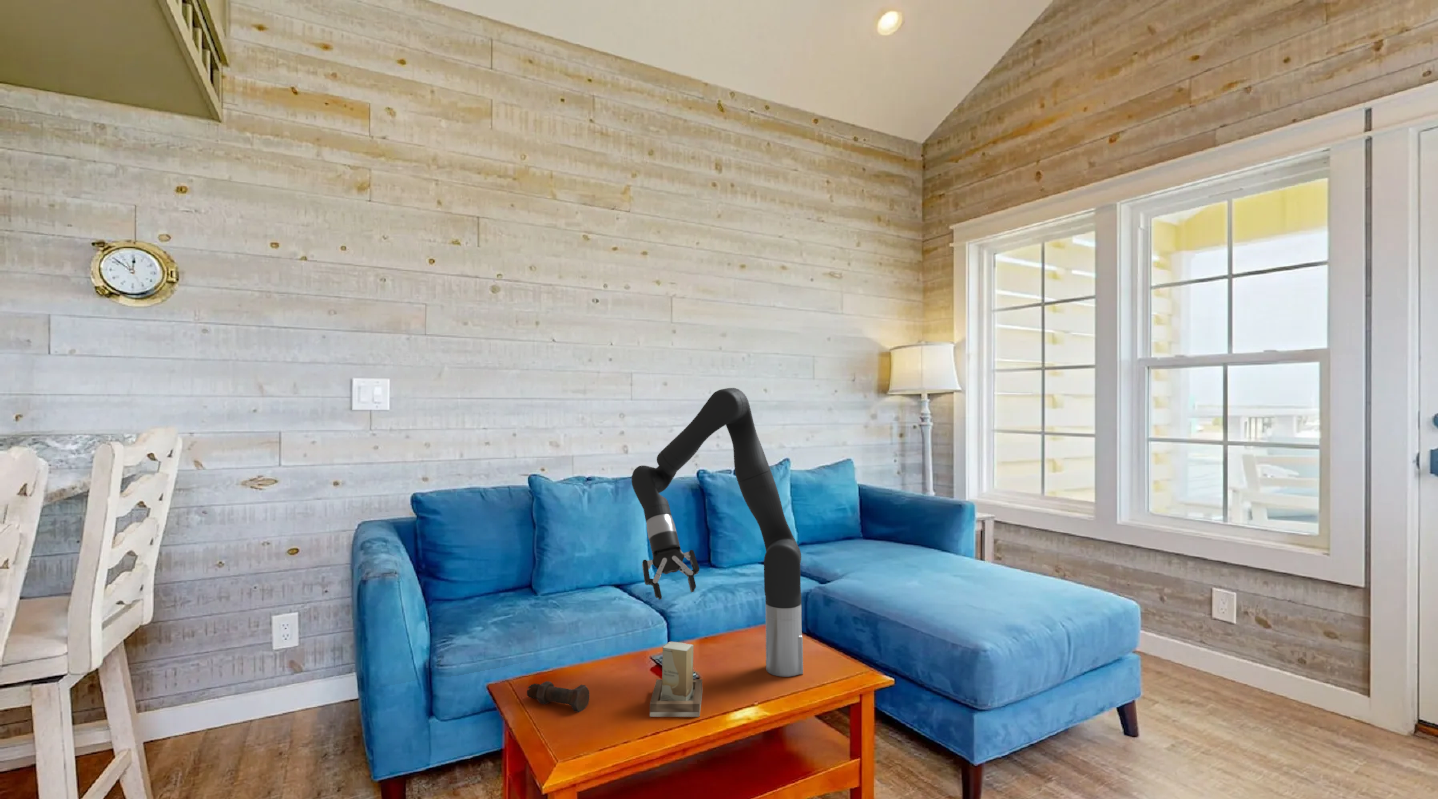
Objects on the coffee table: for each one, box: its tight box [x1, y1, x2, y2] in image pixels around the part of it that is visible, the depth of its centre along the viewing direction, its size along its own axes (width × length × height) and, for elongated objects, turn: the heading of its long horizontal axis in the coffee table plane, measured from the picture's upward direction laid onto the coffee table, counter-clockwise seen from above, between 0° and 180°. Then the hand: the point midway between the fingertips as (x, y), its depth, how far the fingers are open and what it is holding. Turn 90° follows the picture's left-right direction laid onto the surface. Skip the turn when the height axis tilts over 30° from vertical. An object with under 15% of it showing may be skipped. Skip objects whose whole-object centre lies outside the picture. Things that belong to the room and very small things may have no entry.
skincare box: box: [661, 640, 695, 701], centre depth 152 cm, size 6×4×12 cm
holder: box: [649, 678, 703, 718], centre depth 152 cm, size 11×13×3 cm
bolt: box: [526, 680, 590, 713], centre depth 152 cm, size 6×5×15 cm
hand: (676, 595), depth 168 cm, fingers open, 8 cm apart
